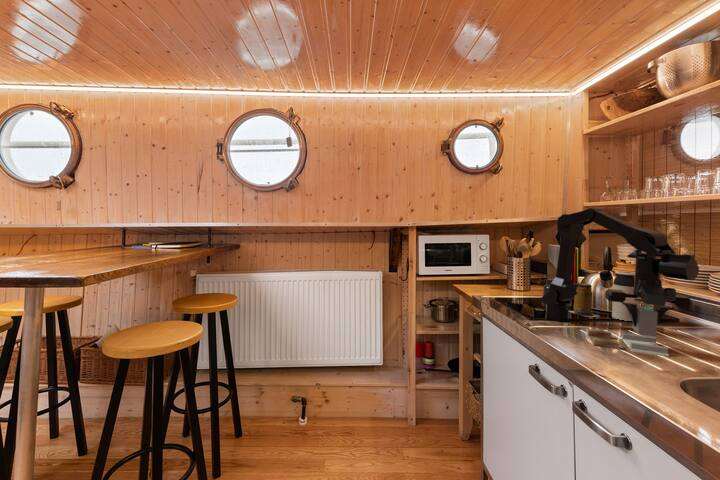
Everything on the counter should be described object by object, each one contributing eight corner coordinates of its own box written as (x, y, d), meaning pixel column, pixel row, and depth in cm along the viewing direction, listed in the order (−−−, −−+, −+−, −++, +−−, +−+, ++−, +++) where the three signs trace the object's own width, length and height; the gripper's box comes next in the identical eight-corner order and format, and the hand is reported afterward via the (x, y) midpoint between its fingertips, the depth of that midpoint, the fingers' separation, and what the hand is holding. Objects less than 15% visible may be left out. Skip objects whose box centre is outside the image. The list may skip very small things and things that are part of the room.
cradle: (632, 352, 95) (632, 344, 95) (621, 339, 106) (621, 332, 106) (668, 357, 91) (669, 349, 91) (653, 343, 102) (653, 336, 102)
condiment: (582, 310, 139) (583, 282, 139) (600, 316, 131) (602, 286, 130) (567, 311, 138) (568, 283, 137) (585, 317, 129) (587, 287, 129)
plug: (638, 334, 96) (640, 307, 96) (632, 328, 102) (633, 303, 101) (656, 336, 95) (658, 309, 94) (649, 330, 100) (650, 304, 100)
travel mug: (630, 323, 122) (633, 274, 121) (607, 317, 130) (609, 271, 129) (642, 320, 126) (645, 273, 125) (619, 315, 133) (622, 270, 132)
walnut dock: (594, 346, 99) (594, 340, 99) (587, 334, 110) (587, 328, 110) (619, 350, 96) (619, 343, 96) (609, 337, 107) (609, 331, 107)
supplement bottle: (554, 309, 141) (555, 281, 140) (538, 305, 147) (539, 278, 146) (563, 307, 144) (565, 280, 143) (548, 304, 150) (549, 277, 149)
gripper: (614, 276, 94) (611, 330, 95) (704, 282, 86) (699, 341, 87) (606, 270, 104) (603, 319, 105) (685, 275, 96) (681, 328, 97)
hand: (644, 327), depth 98 cm, fingers closed on plug, 4 cm apart
